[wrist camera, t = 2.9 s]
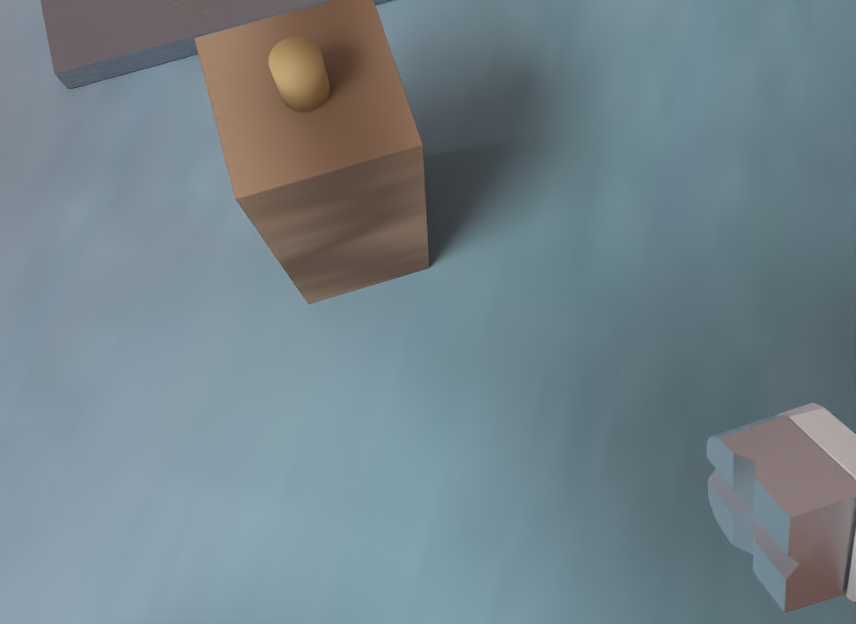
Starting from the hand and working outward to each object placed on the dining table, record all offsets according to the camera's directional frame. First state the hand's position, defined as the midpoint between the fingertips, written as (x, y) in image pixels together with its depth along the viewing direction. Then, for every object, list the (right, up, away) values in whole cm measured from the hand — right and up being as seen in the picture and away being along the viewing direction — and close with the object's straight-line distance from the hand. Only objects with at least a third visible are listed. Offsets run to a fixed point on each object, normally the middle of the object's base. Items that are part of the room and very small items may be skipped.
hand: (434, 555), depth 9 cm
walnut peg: (-3, +6, +16) cm, 17 cm away
